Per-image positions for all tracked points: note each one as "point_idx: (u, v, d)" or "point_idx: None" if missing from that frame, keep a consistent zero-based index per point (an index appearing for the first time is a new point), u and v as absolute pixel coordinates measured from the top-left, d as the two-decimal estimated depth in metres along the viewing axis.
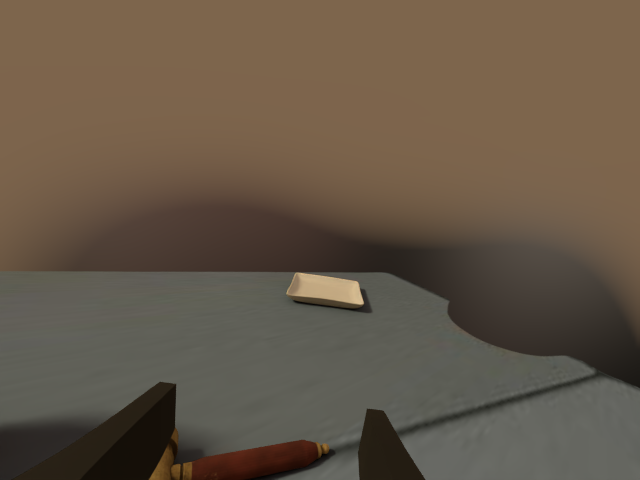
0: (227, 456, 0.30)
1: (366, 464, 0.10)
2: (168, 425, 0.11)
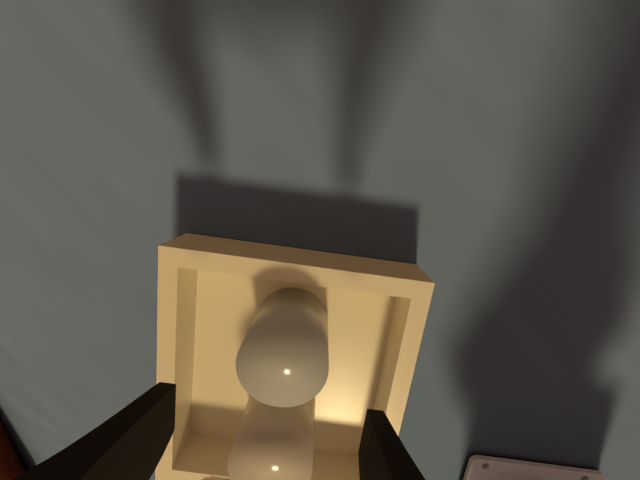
0: None
1: (366, 464, 0.10)
2: (168, 425, 0.11)
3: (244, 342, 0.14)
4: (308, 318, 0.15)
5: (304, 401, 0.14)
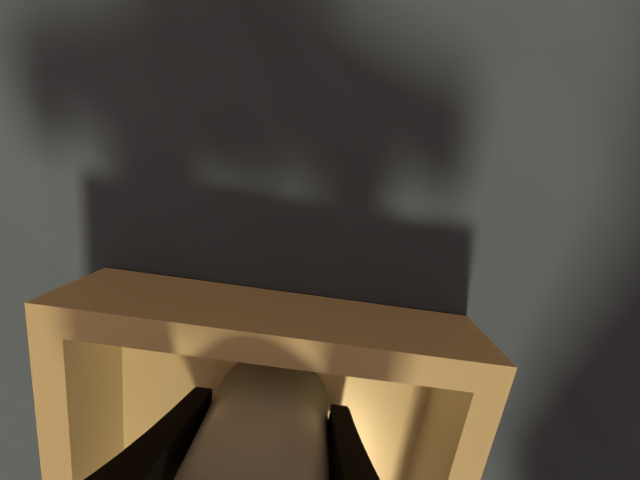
0: None
1: None
2: None
3: None
4: (293, 432, 0.08)
5: None
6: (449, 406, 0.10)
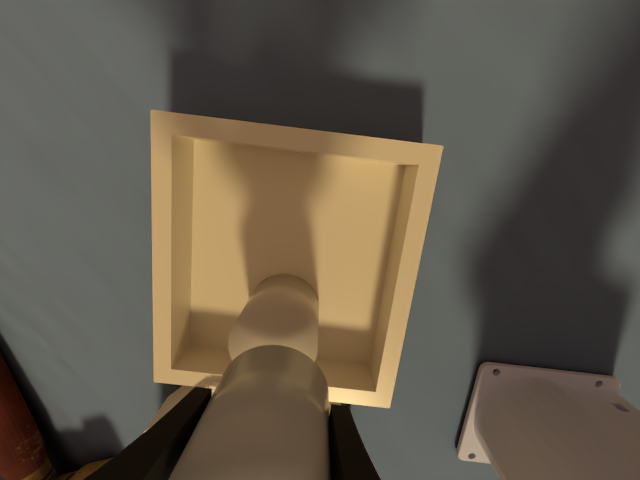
0: None
1: None
2: None
3: (174, 475, 0.07)
4: (295, 416, 0.08)
5: None
6: (408, 191, 0.16)
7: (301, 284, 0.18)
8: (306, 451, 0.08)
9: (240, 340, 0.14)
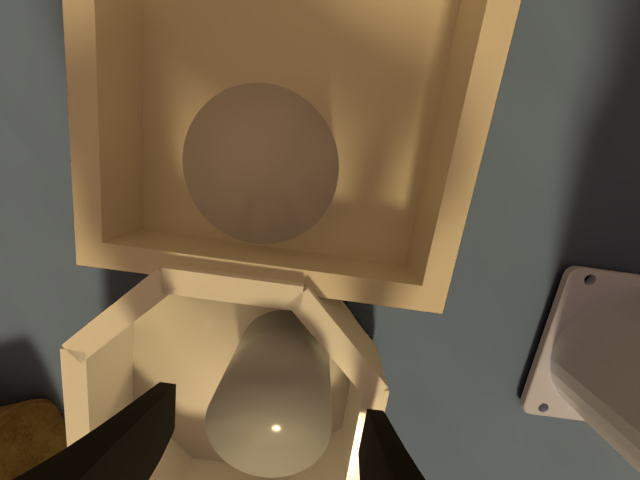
0: None
1: (366, 464, 0.10)
2: (168, 425, 0.11)
3: (216, 394, 0.10)
4: (304, 356, 0.11)
5: (299, 470, 0.11)
6: None
7: None
8: (313, 378, 0.10)
9: (203, 153, 0.08)
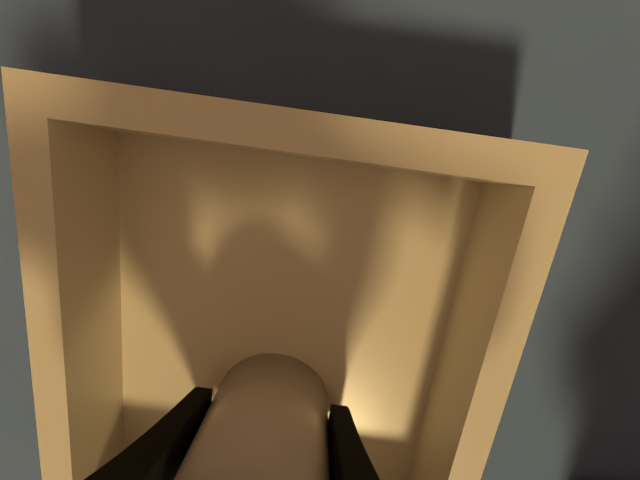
0: None
1: None
2: None
3: None
4: None
5: None
6: (498, 232, 0.09)
7: (300, 376, 0.11)
8: None
9: None
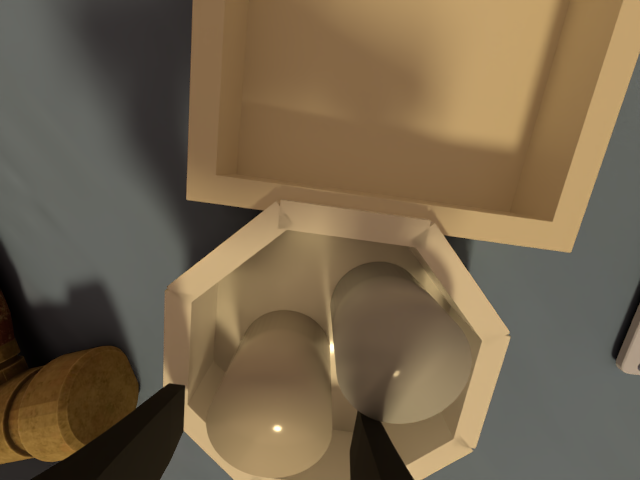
0: None
1: (356, 462, 0.10)
2: (177, 426, 0.11)
3: (350, 331, 0.09)
4: (428, 296, 0.10)
5: (432, 414, 0.10)
6: None
7: (310, 327, 0.13)
8: (448, 314, 0.10)
9: (223, 416, 0.10)
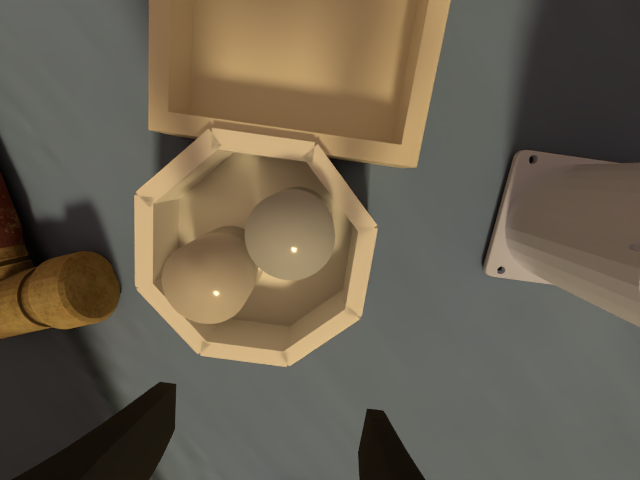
0: None
1: (366, 464, 0.10)
2: (168, 425, 0.11)
3: (252, 211, 0.14)
4: (313, 196, 0.15)
5: (312, 273, 0.15)
6: None
7: None
8: (321, 203, 0.14)
9: (173, 274, 0.15)
